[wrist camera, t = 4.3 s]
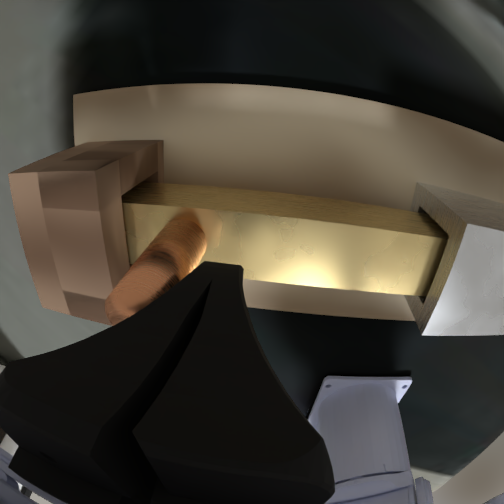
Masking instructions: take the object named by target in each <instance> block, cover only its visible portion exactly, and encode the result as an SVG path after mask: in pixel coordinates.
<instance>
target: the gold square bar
mask: <svg viewBox="0 0 504 504" xmlns="http://www.w3.org/2000/svg"><path fill="white" fill-rule="evenodd" d="M121 199H122V210H123V219H124V228H125V237H126V244H127V252H128V259H129V264H133V265H132V266H131V267H130V269H129V270H128V271H127V273H126V274H125V275H124V276H123V278H122V279H121V280H120V281H119V283H118V284H117V285H116V287H115V288H114V289H113V290H112V292H111V293H110V294H109V296H108V297H107V299H106V301H105V312H106V315H107V318H108V320H109V321H110V323H111V324H112V326H114V325H116V324H118V323H119V322H121V321H123V320H125V319H126V318H128V317H130V316H132V315H133V314H135V313H137V312H138V311H140V310H141V309H143V308H144V307H146V306H147V305H149V304H150V303H151V302H153V301H154V300H156V299H157V298H159V297H160V296H161V295H163V294H164V293H165V292H167V291H168V290H169V289H170V288H172V287H173V286H174V285H176V284H177V283H178V282H179V281H181V280H182V279H183V278H184V277H185V276H187V275H188V274H189V273H190V272H191V271H193V270H194V269H195V268H196V267H197V266H199V265H200V264H201V263H202V262H204V261H210V262H218V263H227V264H235V265H241V266H242V267H243V269H244V274H243V279H250V280H259V281H268V282H277V283H286V284H295V285H305V286H315V287H325V288H335V289H345V290H356V291H367V292H378V293H390V294H402V295H414V296H427V295H428V293H429V290H430V288H431V285H432V283H433V280H434V278H435V275H436V272H437V270H438V267H439V264H440V262H441V259H442V256H443V253H444V250H445V248H446V245H447V242H448V239H449V235H448V234H447V233H446V231H445V230H444V229H443V228H442V227H441V226H440V225H439V224H438V223H437V222H436V221H435V220H434V219H433V218H432V217H431V216H430V215H429V214H423V213H418V212H412V211H407V210H401V209H395V208H389V207H383V206H377V205H370V204H364V203H357V202H350V201H343V200H336V199H328V198H321V197H313V196H305V195H296V194H287V193H278V192H269V191H259V190H249V189H238V188H226V187H213V186H200V185H185V184H167V183H147V182H141V183H139V184H138V185H136V186H135V187H133V188H132V189H130V190H129V191H127V192H126V193H124V194H123V195H122V196H121Z"/></svg>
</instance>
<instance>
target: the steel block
mask: <svg viewBox="0 0 504 504" xmlns="http://www.w3.org/2000/svg"><path fill="white" fill-rule="evenodd" d="M410 211H412V212H418V213H423V214H429V215H430V216H431V217H432V218H433V219H434V220H435V221H436V222H437V223H438V224H439V225H440V226H441V227H442V228H443V229H444V230H445V231H446V233H447V234H448V235H449V239H448V242H447V245H446V248H445V250H444V253H443V256H442V259H441V262H440V264H439V267H438V270H437V272H436V275H435V278H434V280H433V283H432V285H431V288H430V290H429V293H428V295H427V296H414V295H404V297H405V299H406V301H407V303H408V305H409V307H410V310H411V312H412V314H413V316H414V319H415V321H416V323H417V325H418V328H419V330H420V332H421V335H432V336H471V335H504V204H502V203H499V202H496V201H492V200H489V199H485V198H482V197H478V196H474V195H470V194H467V193H463V192H459V191H455V190H451V189H447V188H443V187H438V186H434V185H430V184H425V183H421V182H417V183H416V187H415V192H414V196H413V200H412V204H411V208H410Z"/></svg>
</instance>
